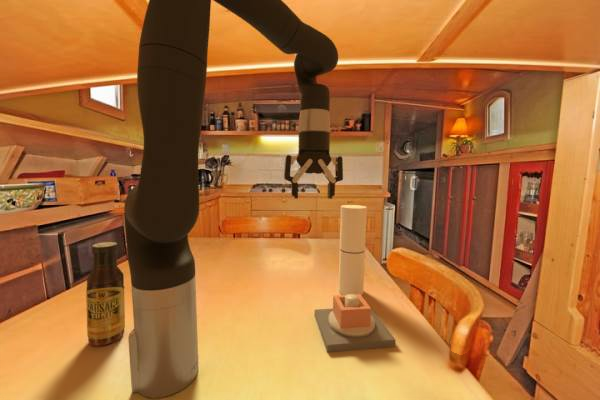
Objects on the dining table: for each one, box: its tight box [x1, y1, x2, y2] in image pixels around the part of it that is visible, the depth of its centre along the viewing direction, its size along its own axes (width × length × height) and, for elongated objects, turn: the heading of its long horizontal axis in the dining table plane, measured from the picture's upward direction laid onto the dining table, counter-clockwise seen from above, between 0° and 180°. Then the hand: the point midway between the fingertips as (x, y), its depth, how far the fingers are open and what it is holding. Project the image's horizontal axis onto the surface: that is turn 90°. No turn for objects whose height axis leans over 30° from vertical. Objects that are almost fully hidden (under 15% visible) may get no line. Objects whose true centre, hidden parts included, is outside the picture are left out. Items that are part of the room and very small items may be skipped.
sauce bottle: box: [85, 241, 126, 347], centre depth 53 cm, size 7×6×20 cm
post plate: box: [314, 294, 396, 353], centre depth 58 cm, size 14×13×8 cm
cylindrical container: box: [338, 204, 368, 296], centre depth 75 cm, size 7×7×25 cm
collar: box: [332, 294, 372, 328], centre depth 57 cm, size 6×6×4 cm
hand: (313, 198), depth 65 cm, fingers open, 8 cm apart
